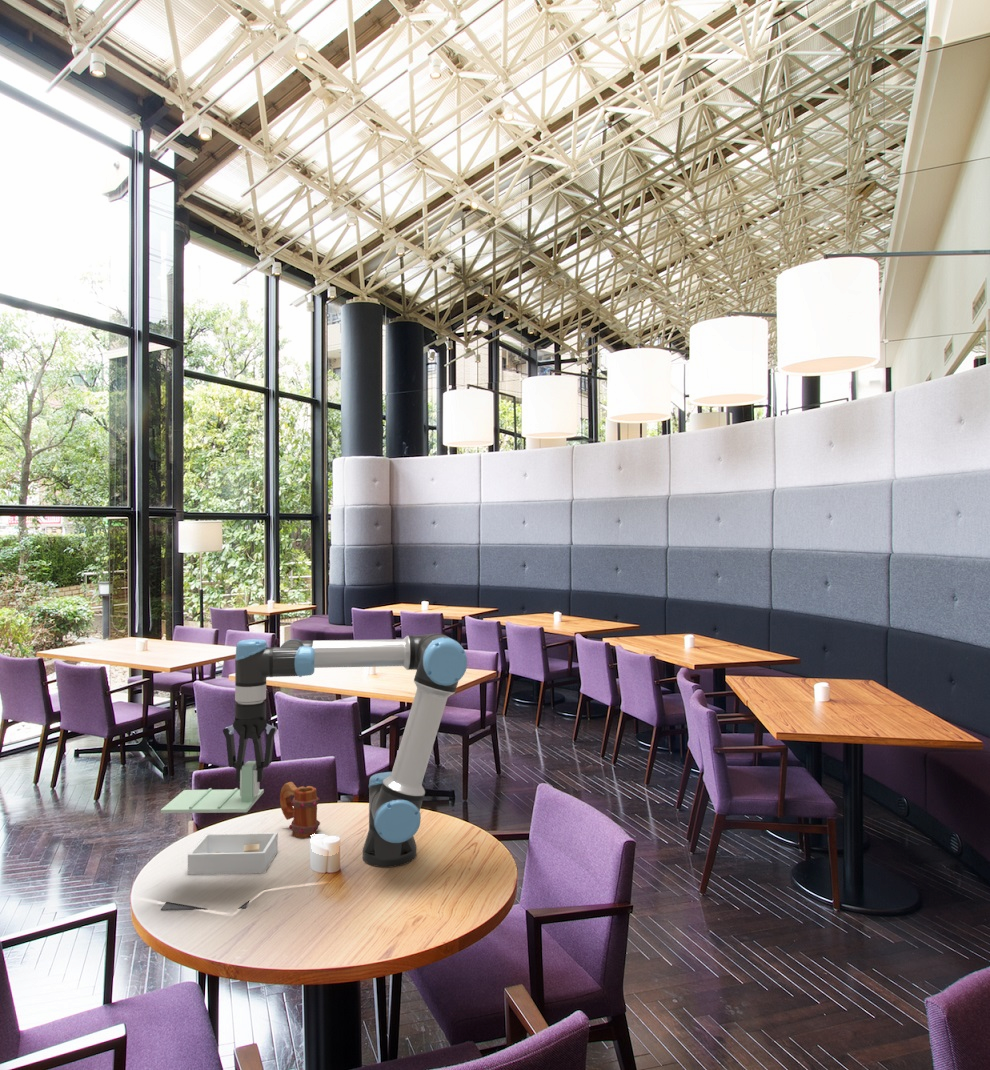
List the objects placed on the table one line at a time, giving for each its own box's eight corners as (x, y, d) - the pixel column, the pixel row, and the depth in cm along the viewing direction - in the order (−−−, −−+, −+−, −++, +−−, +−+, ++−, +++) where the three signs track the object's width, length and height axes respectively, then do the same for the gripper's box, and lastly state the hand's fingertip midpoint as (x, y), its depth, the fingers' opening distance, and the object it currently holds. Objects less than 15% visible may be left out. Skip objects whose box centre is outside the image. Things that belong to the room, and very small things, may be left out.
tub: (277, 853, 208) (277, 832, 208) (264, 875, 194) (264, 853, 194) (205, 855, 207) (206, 833, 207) (187, 877, 193) (187, 854, 193)
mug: (326, 835, 222) (326, 785, 222) (305, 844, 215) (306, 792, 215) (292, 825, 230) (292, 777, 230) (271, 833, 223) (272, 784, 223)
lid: (263, 792, 192) (264, 755, 192) (246, 812, 178) (247, 772, 178) (184, 792, 192) (184, 756, 192) (160, 813, 177) (161, 773, 177)
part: (259, 854, 206) (259, 843, 206) (259, 860, 202) (259, 849, 202) (244, 856, 205) (244, 845, 205) (243, 862, 201) (243, 851, 201)
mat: (261, 880, 192) (261, 878, 192) (245, 908, 177) (245, 906, 177) (184, 881, 191) (184, 880, 191) (160, 910, 176) (160, 908, 176)
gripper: (285, 698, 189) (284, 789, 189) (224, 698, 189) (223, 789, 188) (278, 704, 182) (277, 799, 181) (214, 704, 181) (213, 799, 181)
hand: (249, 794), depth 185 cm, fingers closed on lid, 3 cm apart
